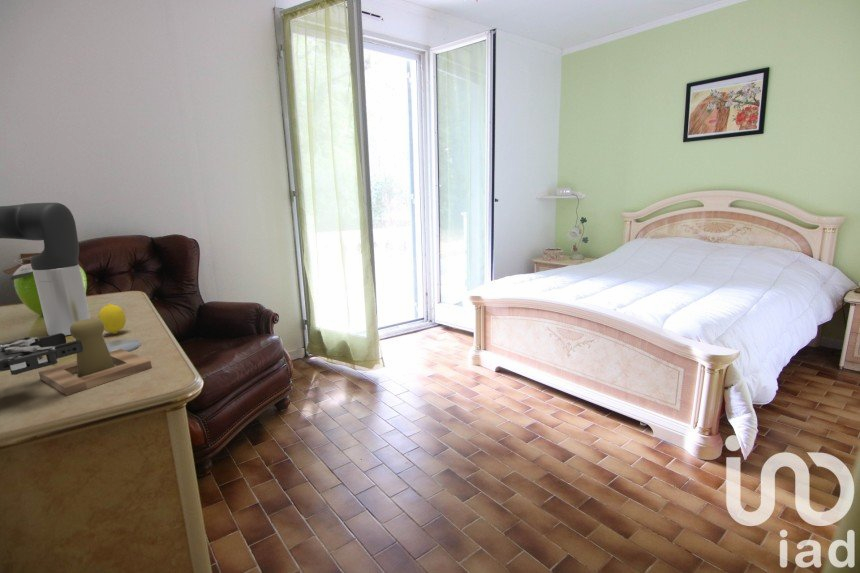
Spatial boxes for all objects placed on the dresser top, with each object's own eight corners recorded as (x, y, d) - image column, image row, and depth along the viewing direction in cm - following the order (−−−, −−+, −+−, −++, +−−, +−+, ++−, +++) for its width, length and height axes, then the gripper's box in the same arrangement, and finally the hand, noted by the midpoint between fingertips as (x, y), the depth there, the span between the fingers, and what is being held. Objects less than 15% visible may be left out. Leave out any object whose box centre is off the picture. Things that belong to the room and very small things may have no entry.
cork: (85, 382, 82) (73, 326, 80) (72, 376, 86) (59, 322, 83) (121, 370, 87) (110, 317, 85) (107, 365, 91) (96, 314, 88)
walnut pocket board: (40, 378, 85) (38, 371, 84) (121, 355, 96) (120, 348, 96) (66, 395, 77) (65, 387, 77) (151, 367, 88) (150, 360, 88)
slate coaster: (80, 352, 99) (79, 349, 99) (129, 338, 107) (129, 336, 107) (98, 360, 93) (97, 357, 93) (148, 345, 101) (148, 343, 101)
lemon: (114, 337, 108) (108, 306, 106) (96, 337, 109) (89, 306, 107) (133, 330, 113) (127, 301, 112) (116, 330, 115) (109, 300, 113)
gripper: (-47, 359, 65) (83, 328, 78) (-66, 343, 73) (55, 317, 86) (-33, 405, 67) (92, 367, 80) (-53, 384, 75) (63, 353, 88)
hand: (73, 341), depth 83 cm, fingers open, 8 cm apart
